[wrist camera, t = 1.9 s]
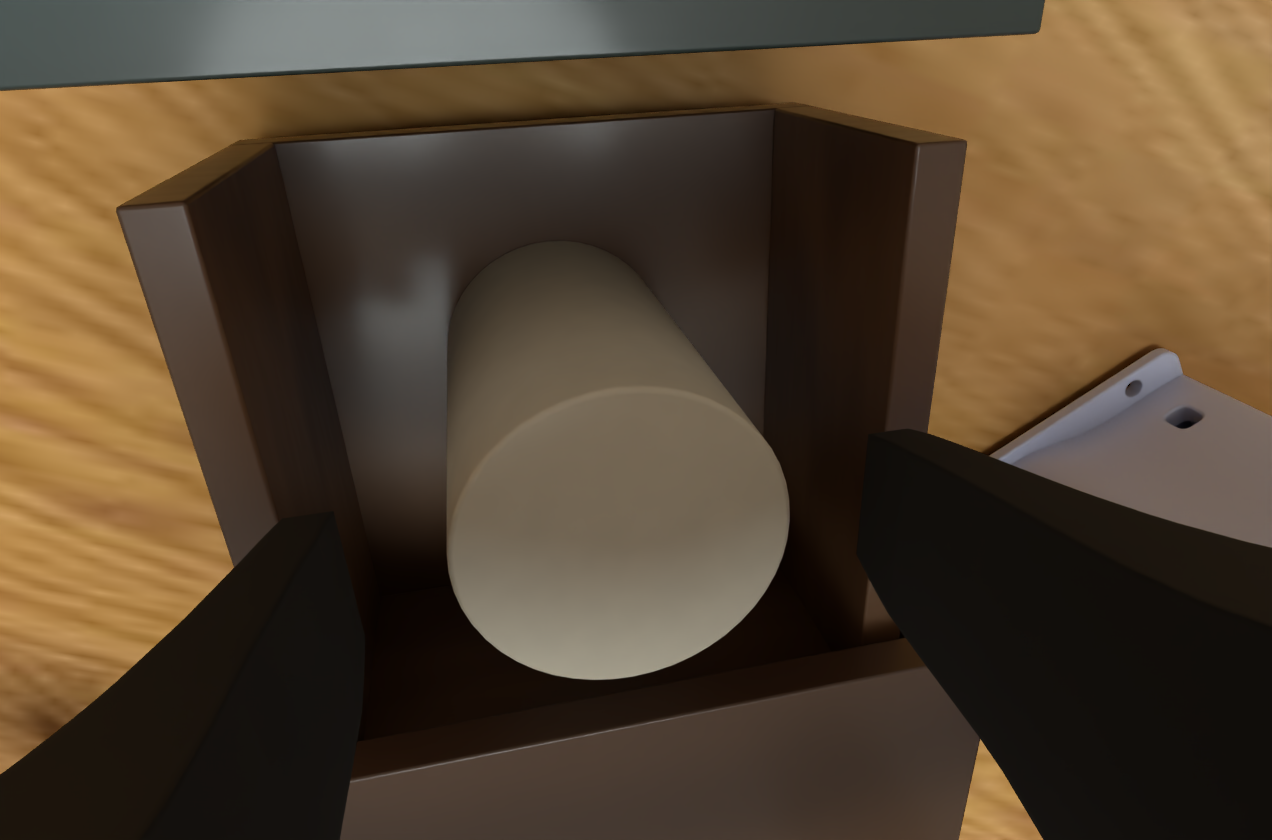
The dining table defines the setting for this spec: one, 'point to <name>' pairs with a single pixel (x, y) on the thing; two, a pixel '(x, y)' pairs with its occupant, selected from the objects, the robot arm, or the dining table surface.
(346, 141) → the drawer
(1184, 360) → the dining table surface
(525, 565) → the candle
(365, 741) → the cabinet
